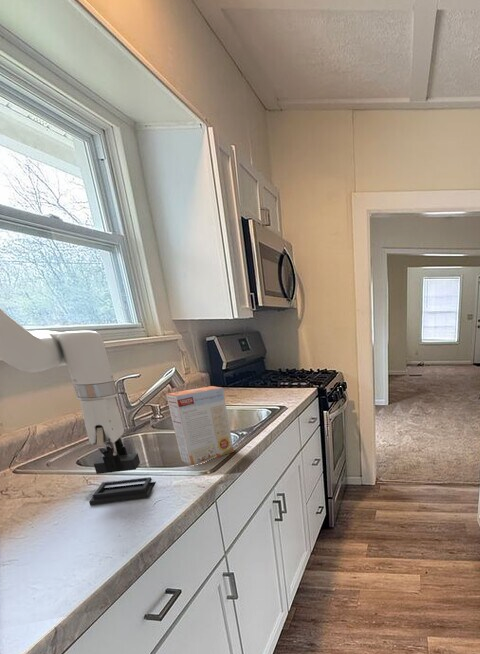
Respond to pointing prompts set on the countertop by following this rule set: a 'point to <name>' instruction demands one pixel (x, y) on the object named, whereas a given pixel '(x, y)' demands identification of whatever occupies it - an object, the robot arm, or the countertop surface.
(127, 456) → the top pad
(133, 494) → the base pad
